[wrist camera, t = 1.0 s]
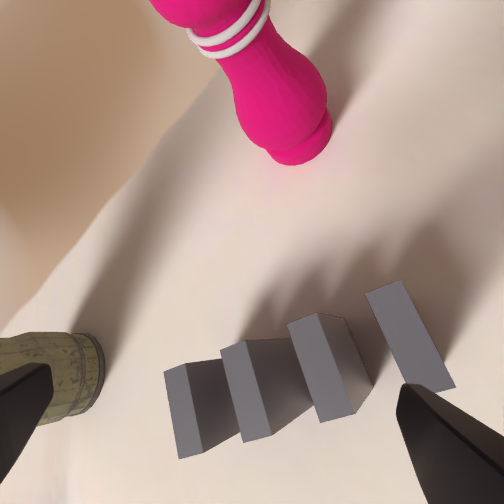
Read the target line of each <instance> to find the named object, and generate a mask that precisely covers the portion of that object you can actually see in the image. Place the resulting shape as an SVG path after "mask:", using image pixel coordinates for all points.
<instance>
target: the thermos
mask: <svg viewBox="0 0 504 504" xmlns="http://www.w3.org/2000/svg"><path fill="white" fill-rule="evenodd" d="M30 362H45V363H48V364H50V366H51V369H52V377H53V385H54V395H53V398H52V400H51V402H50V404H49V406H48V407H47V409H46V411H45V413H44V414H43V416H42V418H41V420H40V421H39V423H38V425H37V426H41V425H45V424H49V423H53V422H56V421H60V420H61V419H62V418H64V417H67V416H74V415H78V414H82V413H85V412H86V411H87V410H88V409H89V408H90V407H92V406H93V404H94V402H95V401H96V399H97V398H98V396H99V394H100V391H101V388H102V385H103V381H104V373H105V363H104V355H103V352H102V349H101V346H100V344H99V343H98V342H97V340H96V339H95V338H94V337H92V336H91V335H89V334H81V333H76V334H68V333H67V332H28V333H24V334H21V335H18V336H14V337H11V338H0V375H1V374H4V373H6V372H8V371H11V370H13V369H16V368H18V367H20V366H23V365H25V364H28V363H30ZM37 426H36V427H37Z"/></svg>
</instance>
